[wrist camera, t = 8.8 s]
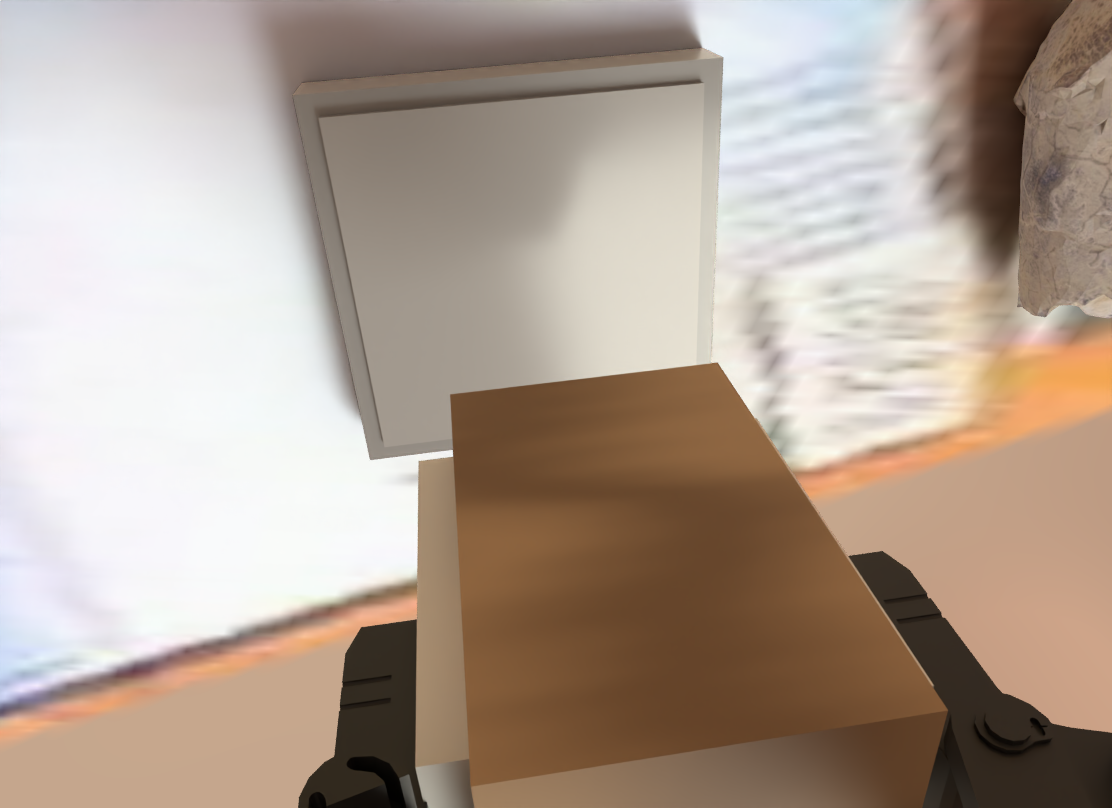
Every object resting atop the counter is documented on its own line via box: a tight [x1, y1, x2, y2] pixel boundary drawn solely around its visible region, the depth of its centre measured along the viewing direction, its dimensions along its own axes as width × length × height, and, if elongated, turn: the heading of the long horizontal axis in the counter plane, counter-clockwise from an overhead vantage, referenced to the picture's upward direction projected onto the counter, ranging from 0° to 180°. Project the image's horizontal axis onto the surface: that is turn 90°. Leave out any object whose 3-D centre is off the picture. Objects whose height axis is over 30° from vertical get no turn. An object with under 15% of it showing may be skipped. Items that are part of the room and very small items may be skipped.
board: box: [292, 48, 723, 460], centre depth 27 cm, size 12×12×2 cm
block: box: [450, 363, 948, 808], centre depth 13 cm, size 5×5×8 cm
